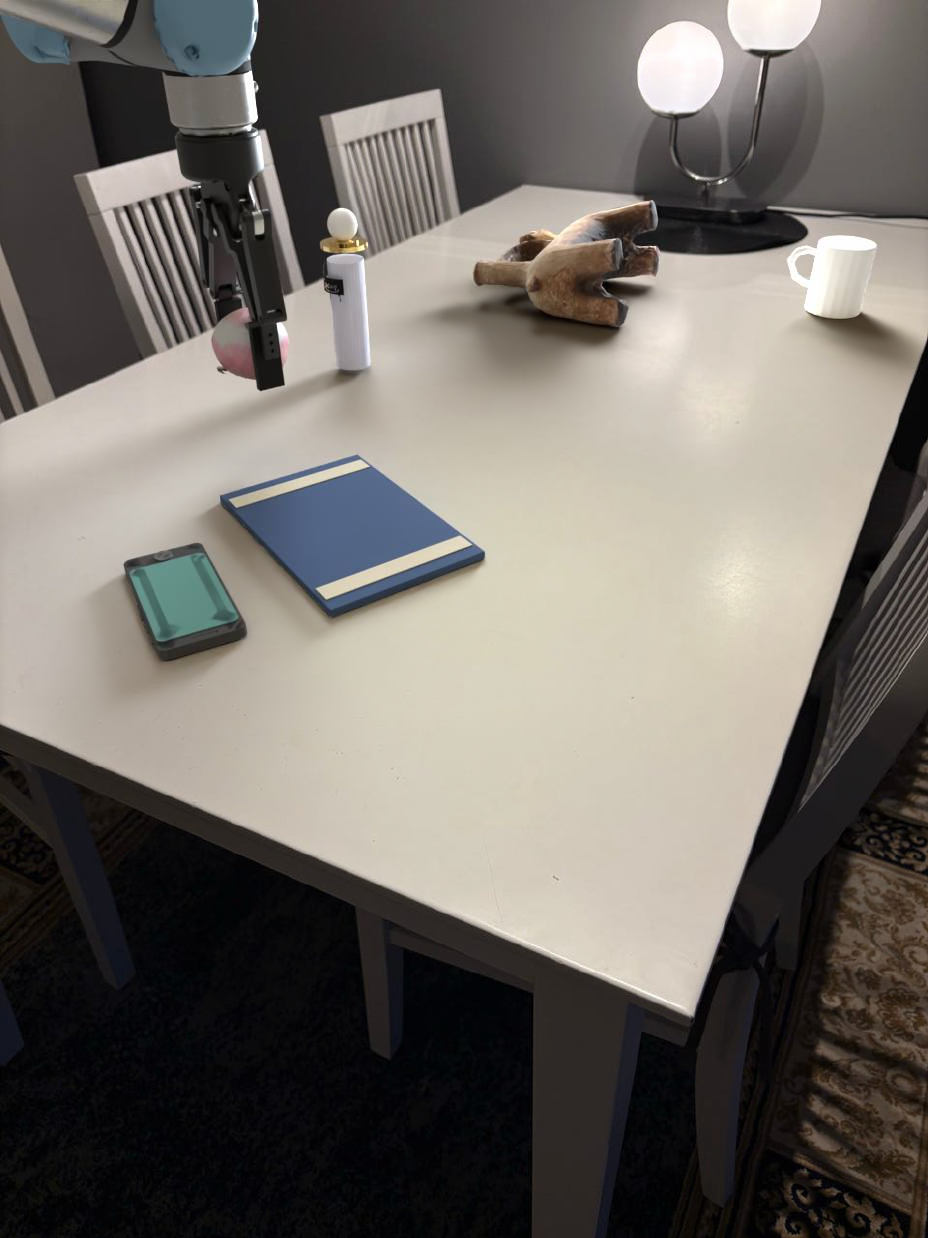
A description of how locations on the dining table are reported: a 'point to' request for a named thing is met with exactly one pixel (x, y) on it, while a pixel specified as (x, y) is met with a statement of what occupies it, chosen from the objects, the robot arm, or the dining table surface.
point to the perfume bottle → (347, 291)
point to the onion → (240, 344)
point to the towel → (349, 533)
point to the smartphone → (183, 601)
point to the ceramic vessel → (579, 264)
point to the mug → (836, 275)
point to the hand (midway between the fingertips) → (253, 373)
